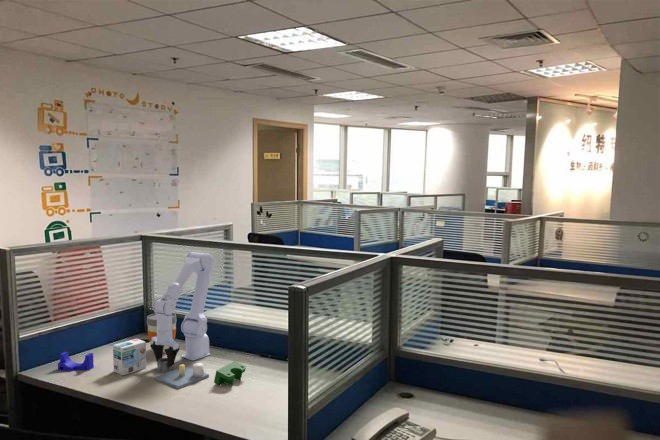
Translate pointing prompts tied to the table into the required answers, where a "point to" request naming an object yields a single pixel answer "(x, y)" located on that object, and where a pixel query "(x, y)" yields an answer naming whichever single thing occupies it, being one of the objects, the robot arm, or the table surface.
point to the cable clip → (69, 365)
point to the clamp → (229, 373)
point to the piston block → (183, 376)
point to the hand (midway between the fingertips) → (165, 363)
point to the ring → (163, 365)
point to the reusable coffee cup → (153, 328)
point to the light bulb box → (129, 356)
